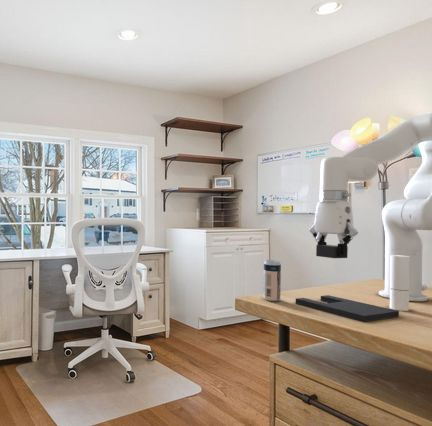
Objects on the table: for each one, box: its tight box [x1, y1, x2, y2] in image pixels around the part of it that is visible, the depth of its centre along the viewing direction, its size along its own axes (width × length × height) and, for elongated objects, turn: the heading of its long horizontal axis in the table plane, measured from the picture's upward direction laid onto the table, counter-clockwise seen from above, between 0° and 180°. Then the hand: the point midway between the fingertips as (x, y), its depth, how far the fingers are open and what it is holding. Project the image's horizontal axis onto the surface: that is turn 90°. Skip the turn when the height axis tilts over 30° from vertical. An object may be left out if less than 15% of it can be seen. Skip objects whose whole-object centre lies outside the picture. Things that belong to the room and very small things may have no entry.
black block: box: [315, 244, 349, 259], centre depth 117 cm, size 6×6×4 cm
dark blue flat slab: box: [295, 294, 400, 323], centre depth 105 cm, size 14×20×2 cm
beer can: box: [262, 259, 282, 302], centre depth 115 cm, size 5×5×12 cm
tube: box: [389, 255, 410, 312], centre depth 106 cm, size 4×4×15 cm
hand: (331, 255), depth 117 cm, fingers closed on black block, 6 cm apart
